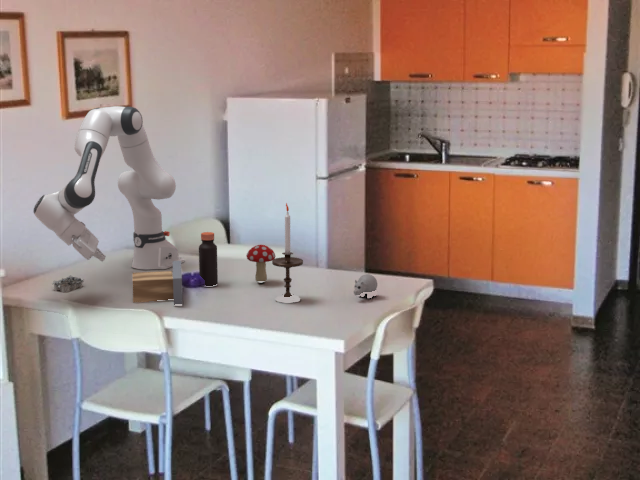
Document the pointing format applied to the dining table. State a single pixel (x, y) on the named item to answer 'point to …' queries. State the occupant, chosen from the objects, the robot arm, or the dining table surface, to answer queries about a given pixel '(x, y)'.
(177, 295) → the slate board
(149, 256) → the robot arm
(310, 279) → the dining table surface
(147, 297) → the oak block
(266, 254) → the decorative mushroom
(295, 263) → the candlestick
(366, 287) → the round bodied animal figurine
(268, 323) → the dining table surface
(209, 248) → the bottle
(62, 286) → the egg carton
